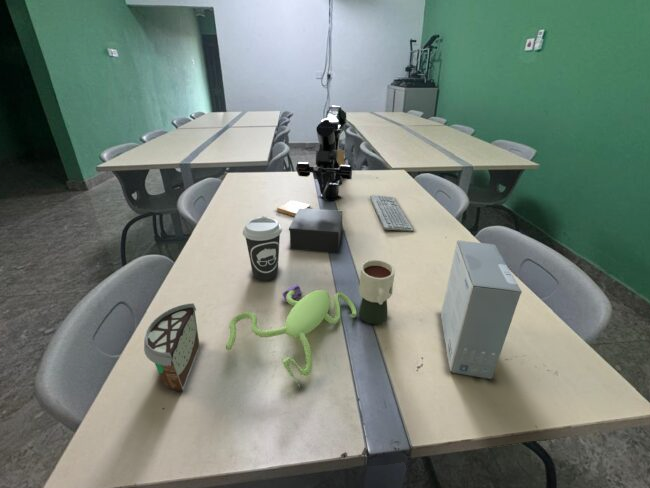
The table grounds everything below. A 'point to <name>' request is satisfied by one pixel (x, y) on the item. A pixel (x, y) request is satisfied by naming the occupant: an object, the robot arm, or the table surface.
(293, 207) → the toast
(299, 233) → the open black box
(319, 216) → the lid
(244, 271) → the table surface
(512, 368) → the table surface
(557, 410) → the table surface
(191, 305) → the food container
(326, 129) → the robot arm
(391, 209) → the keyboard
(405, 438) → the table surface
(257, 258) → the coffee cup
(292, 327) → the figurine
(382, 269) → the character mug
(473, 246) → the hard drive box
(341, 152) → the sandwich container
